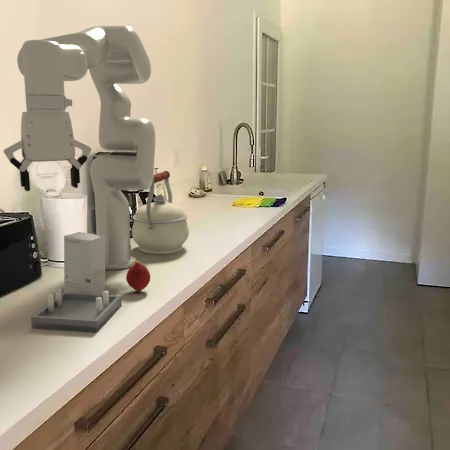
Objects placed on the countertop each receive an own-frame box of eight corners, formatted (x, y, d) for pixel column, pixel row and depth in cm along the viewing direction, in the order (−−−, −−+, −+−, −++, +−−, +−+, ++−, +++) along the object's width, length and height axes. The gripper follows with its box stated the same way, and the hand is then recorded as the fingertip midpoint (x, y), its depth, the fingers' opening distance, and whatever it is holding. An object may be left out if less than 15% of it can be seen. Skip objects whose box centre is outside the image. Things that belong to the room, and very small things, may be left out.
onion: (151, 287, 131) (151, 257, 129) (149, 295, 125) (148, 263, 124) (128, 287, 131) (127, 257, 129) (125, 295, 125) (124, 263, 124)
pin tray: (63, 302, 120) (62, 281, 119) (121, 305, 119) (120, 284, 117) (31, 328, 106) (30, 304, 105) (97, 332, 104) (96, 308, 103)
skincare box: (64, 295, 125) (60, 235, 122) (80, 288, 130) (77, 230, 127) (92, 301, 121) (89, 239, 118) (107, 293, 127) (105, 234, 124)
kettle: (178, 259, 157) (177, 177, 151) (121, 255, 160) (118, 175, 155) (198, 240, 181) (198, 169, 175) (148, 237, 184) (147, 167, 179)
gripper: (83, 105, 112) (87, 183, 116) (-3, 104, 104) (4, 188, 107) (93, 105, 106) (97, 188, 109) (2, 104, 97) (9, 194, 101)
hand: (51, 188), depth 108 cm, fingers open, 9 cm apart
